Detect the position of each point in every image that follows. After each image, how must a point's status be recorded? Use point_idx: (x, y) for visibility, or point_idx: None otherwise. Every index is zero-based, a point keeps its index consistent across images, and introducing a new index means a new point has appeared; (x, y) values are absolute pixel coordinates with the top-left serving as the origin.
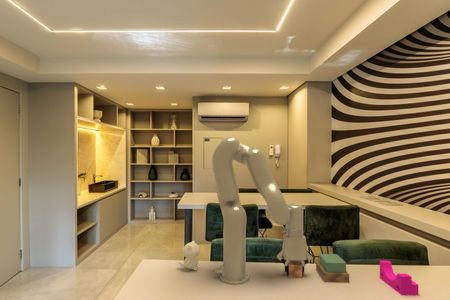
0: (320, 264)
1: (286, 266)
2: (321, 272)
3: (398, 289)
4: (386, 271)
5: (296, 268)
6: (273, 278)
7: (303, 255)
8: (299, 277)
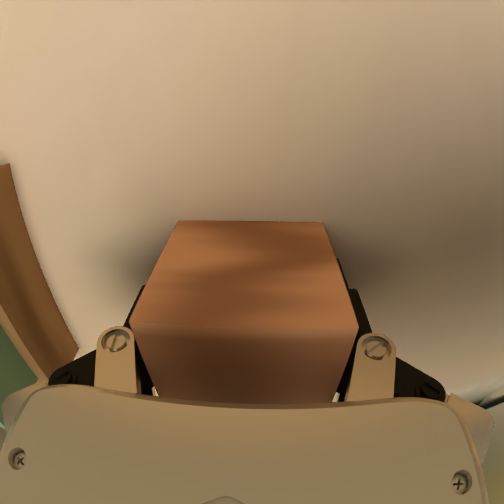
0: (20, 356)
1: (358, 336)
2: (3, 263)
3: None
4: None
5: (230, 289)
6: (467, 210)
7: (45, 468)
8: (206, 224)
